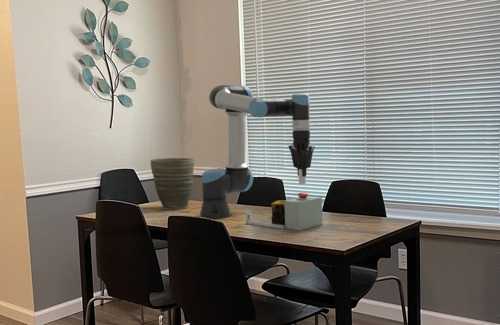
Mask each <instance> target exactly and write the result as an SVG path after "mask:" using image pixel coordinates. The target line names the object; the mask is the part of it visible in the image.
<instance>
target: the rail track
mask: <svg viewBox="0 0 500 325" xmlns="http://www.w3.org/2000/svg"><path fill="white" fill-rule="evenodd" d="M245 222H246V223H245V224H247V225H254V226H259V227H260V226H262V227H266V228H273V229H281V230H284V229H286V228H285V225H281V224H274V223H272V222H265V221H264V222H263V221H259V220H252V219H251V216H250V214H245Z"/></svg>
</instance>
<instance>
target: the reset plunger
mask: <svg viewBox="0 0 500 325" xmlns="http://www.w3.org/2000/svg"><path fill="white" fill-rule="evenodd" d="M297 196H298V197H297V198H299V200H307V196H309V192H299V193H297Z"/></svg>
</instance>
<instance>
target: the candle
mask: <svg viewBox="0 0 500 325" xmlns="http://www.w3.org/2000/svg"><path fill="white" fill-rule="evenodd" d="M284 201H285V200H275V201H274V202H271V223H274V224H281V225H285V202H284Z"/></svg>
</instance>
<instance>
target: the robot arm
mask: <svg viewBox="0 0 500 325" xmlns="http://www.w3.org/2000/svg"><path fill="white" fill-rule="evenodd" d="M208 97H209V102H210V104H211V106H212V107H214V108H216V109H219V110H224V111H225V114H226V115H227V116H228V163H227V164H226V165H225V168H224V167H222V168H220V167H218V168H211V169H208V170H205V171H204V172H203V173H202V176H201V183H202V185H201V186H202V187H201V188H202V204H201V210H200V212H199V214H200V215H199V217H200V218H201V217H206V218H205V219H209V218H211V219H224V218H228V217H231V215H232V214H231V213H232V212H231V209H230V206H229V204H228V200H227V194H234V193H243V192H247V191H248V190H250V188H251V187H252V185H253V182H254V174H253V172H252V170H251V169H250V168H249V165H248V164H247V163H246V117H247V115H248V114H250V115H251V117H253V118H259V119H260V118H268V117H269V118H270V117H271V118H272V117H274V118H275V117H283V118H284V117H292V119H291V120H292V139H293V142H292V144H291V145H288V149H289V151H290V155H291V161H292V165H293V168H295V169H297V176H298V185H305V184H306V177H307V176H308V175H307V170H308V169H309V168H311V164H312V158H313V155H314V151H315V148H316V146H315V145H312V144H311V142H310V139H311V131H310V130H309V129H311V118H310V117H311V116H310V115H311V114H310V113H311V112H310V106H311V103H310V95H309V94H307V93H294V94H292V96H291V99H289V98H287V99H286V98H285V99H283V98H281V99H280V98H279V99H262V98H258V97H254V94H253V92H252V90H251V88H249V87H248V86H247V85H239V84H238V85H235V84H234V85H223V84H222V85H217V86H215V87H214V88H212V90H211V91H210V93H209V96H208Z"/></svg>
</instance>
